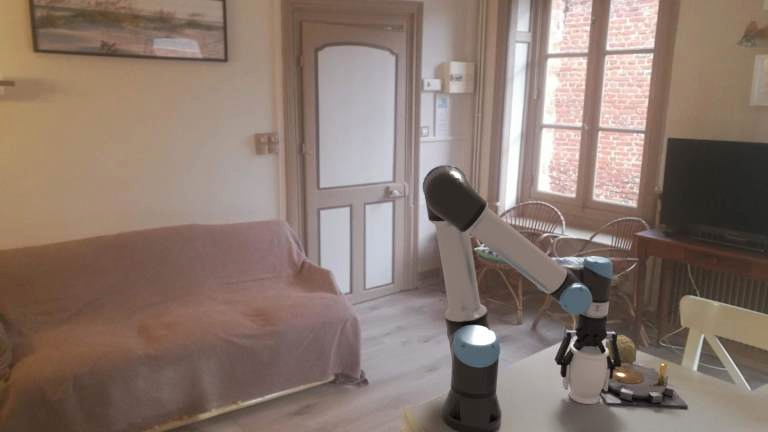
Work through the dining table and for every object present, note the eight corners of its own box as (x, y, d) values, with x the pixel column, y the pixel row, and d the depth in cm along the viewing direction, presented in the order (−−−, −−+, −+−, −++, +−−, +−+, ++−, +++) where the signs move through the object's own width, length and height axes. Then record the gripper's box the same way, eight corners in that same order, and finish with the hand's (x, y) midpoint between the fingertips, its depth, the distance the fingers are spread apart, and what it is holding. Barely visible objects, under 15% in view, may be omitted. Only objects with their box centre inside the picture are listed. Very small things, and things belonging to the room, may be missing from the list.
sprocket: (585, 388, 169) (588, 362, 167) (601, 359, 187) (604, 336, 186) (668, 410, 158) (672, 383, 157) (676, 378, 177) (680, 353, 175)
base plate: (582, 367, 184) (582, 364, 184) (653, 370, 184) (654, 367, 183) (606, 405, 163) (606, 401, 162) (687, 408, 162) (688, 404, 162)
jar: (606, 409, 160) (612, 358, 157) (566, 404, 162) (571, 353, 159) (600, 390, 171) (605, 341, 167) (563, 385, 173) (567, 337, 169)
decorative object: (621, 363, 196) (607, 335, 198) (648, 356, 189) (633, 327, 190) (608, 374, 190) (593, 345, 192) (635, 368, 183) (619, 337, 184)
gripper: (554, 317, 158) (547, 393, 162) (640, 320, 157) (631, 396, 162) (547, 306, 165) (540, 379, 170) (630, 309, 165) (621, 382, 169)
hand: (584, 387), depth 166 cm, fingers closed on jar, 10 cm apart
